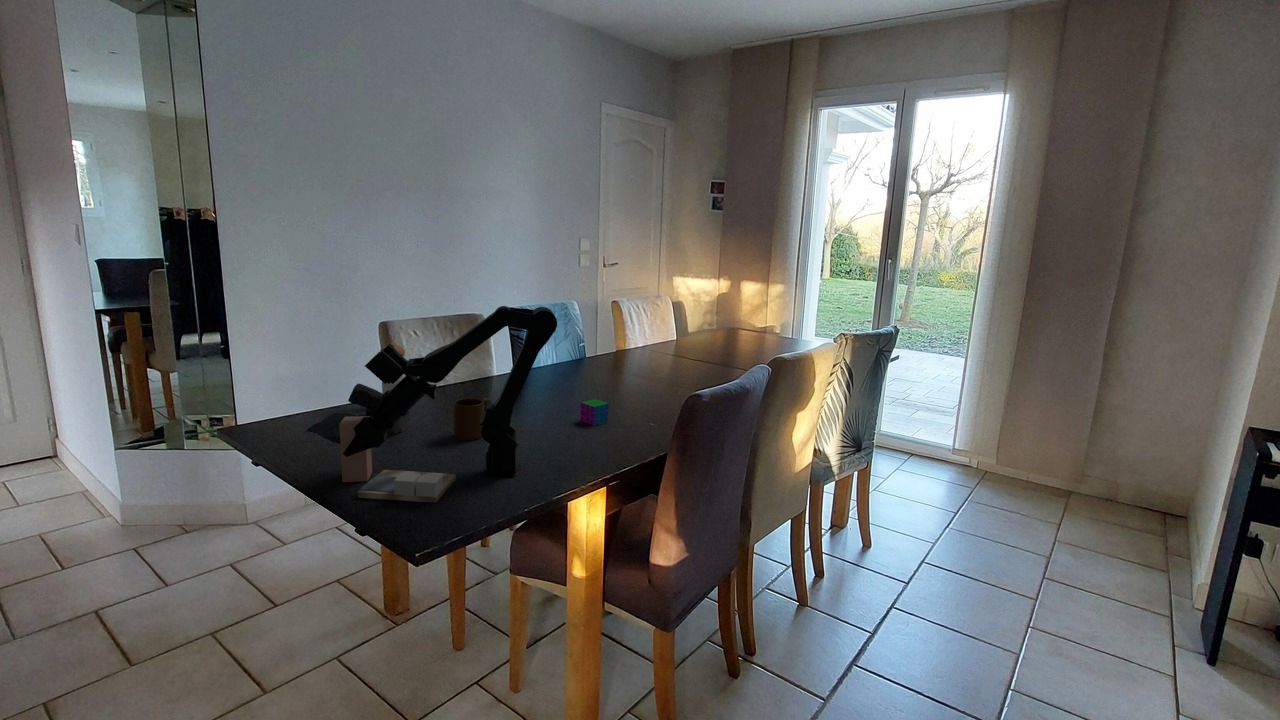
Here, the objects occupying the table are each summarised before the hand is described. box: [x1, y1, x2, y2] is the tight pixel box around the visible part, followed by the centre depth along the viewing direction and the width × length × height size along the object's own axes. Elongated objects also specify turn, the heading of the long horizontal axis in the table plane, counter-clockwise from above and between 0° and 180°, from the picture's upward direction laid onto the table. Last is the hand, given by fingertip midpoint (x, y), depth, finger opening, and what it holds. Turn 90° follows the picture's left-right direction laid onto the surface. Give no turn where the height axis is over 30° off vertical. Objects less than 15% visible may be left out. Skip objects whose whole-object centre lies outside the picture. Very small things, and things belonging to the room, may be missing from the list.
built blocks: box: [394, 473, 443, 497], centre depth 127 cm, size 8×4×3 cm, turn 87°
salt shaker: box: [379, 342, 406, 394], centre depth 186 cm, size 7×7×19 cm
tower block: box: [339, 415, 373, 483], centre depth 135 cm, size 5×5×13 cm
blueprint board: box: [357, 469, 457, 503], centre depth 132 cm, size 16×12×1 cm
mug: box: [453, 397, 492, 441], centre depth 166 cm, size 12×8×9 cm, turn 152°
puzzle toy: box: [579, 398, 610, 426], centre depth 182 cm, size 6×6×6 cm
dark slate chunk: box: [306, 412, 403, 444], centre depth 164 cm, size 15×22×5 cm
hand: (349, 448), depth 134 cm, fingers open, 8 cm apart
